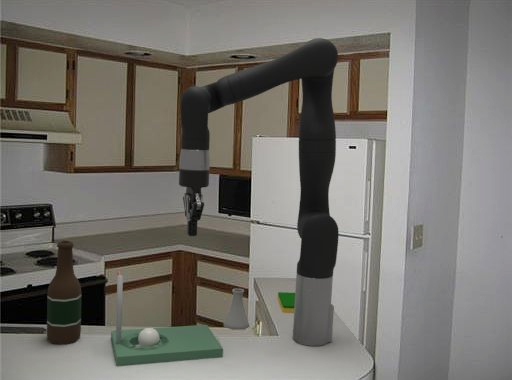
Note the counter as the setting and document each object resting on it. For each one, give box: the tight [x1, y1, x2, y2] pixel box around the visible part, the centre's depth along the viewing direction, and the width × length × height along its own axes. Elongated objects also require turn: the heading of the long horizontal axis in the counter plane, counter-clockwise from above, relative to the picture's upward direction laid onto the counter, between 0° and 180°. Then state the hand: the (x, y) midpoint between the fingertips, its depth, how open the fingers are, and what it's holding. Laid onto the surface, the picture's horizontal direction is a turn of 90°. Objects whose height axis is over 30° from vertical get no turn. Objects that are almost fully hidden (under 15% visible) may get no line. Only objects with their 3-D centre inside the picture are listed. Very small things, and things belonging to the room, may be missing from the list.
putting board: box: [110, 269, 224, 367], centre depth 133 cm, size 24×16×18 cm, turn 109°
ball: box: [138, 327, 160, 347], centre depth 132 cm, size 5×5×5 cm
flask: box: [223, 288, 250, 331], centre depth 151 cm, size 7×7×10 cm
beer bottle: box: [46, 240, 82, 345], centre depth 135 cm, size 8×8×24 cm
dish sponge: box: [277, 291, 295, 314], centre depth 171 cm, size 7×14×2 cm, turn 4°
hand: (191, 235), depth 143 cm, fingers closed
